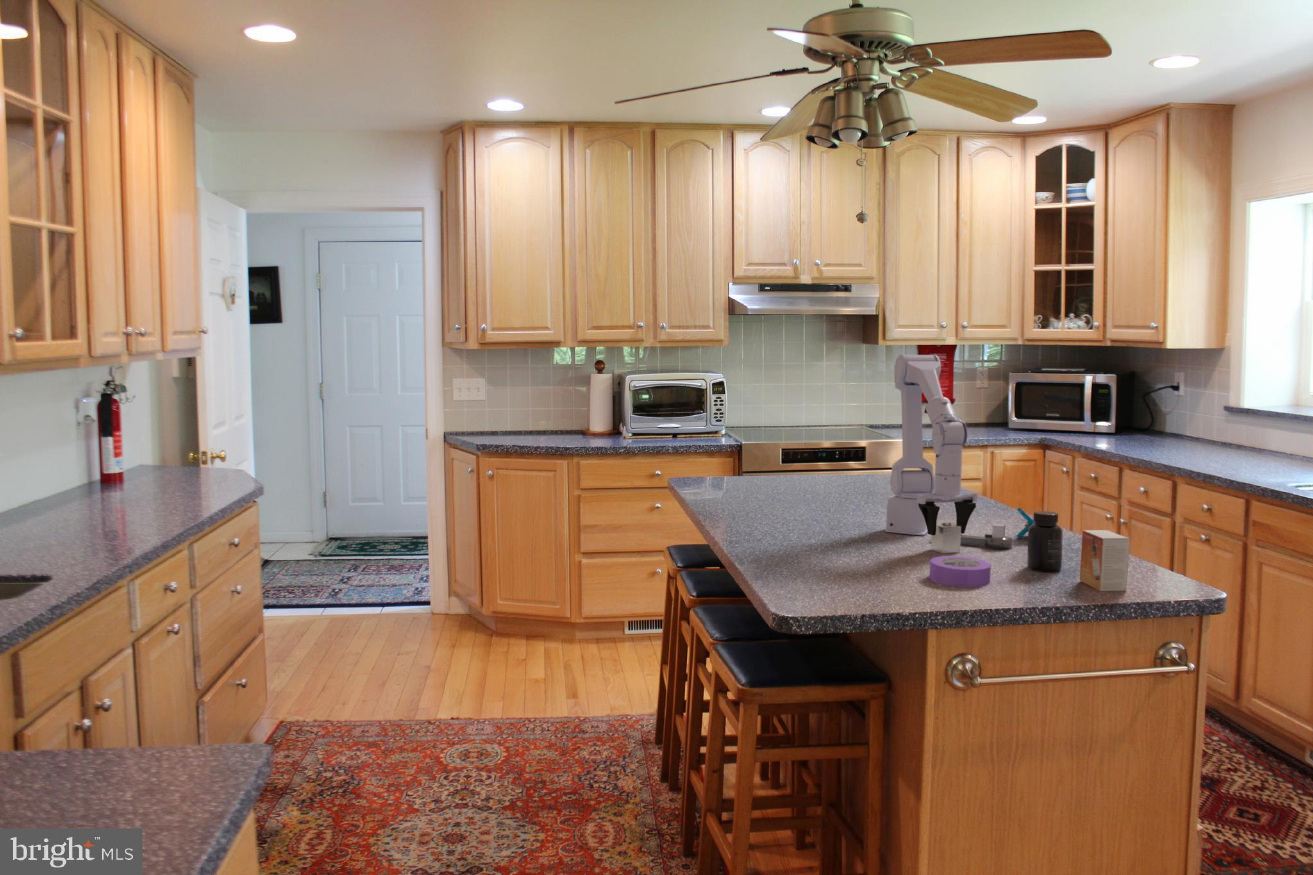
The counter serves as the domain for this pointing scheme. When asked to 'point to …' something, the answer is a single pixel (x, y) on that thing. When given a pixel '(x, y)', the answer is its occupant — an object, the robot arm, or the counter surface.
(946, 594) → the counter surface
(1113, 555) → the small box
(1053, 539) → the supplement bottle
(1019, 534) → the gear
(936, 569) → the masking tape
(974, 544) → the ratchet
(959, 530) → the socket
